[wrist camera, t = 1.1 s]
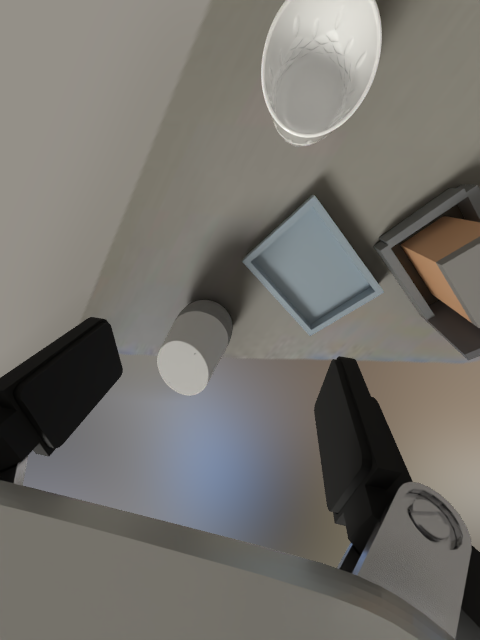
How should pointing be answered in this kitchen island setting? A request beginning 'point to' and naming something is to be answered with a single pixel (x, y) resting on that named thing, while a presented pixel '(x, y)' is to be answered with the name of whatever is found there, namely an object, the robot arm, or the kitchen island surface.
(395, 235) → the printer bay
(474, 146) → the kitchen island surface
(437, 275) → the block
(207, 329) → the smart speaker
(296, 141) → the white cup
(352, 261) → the tray
